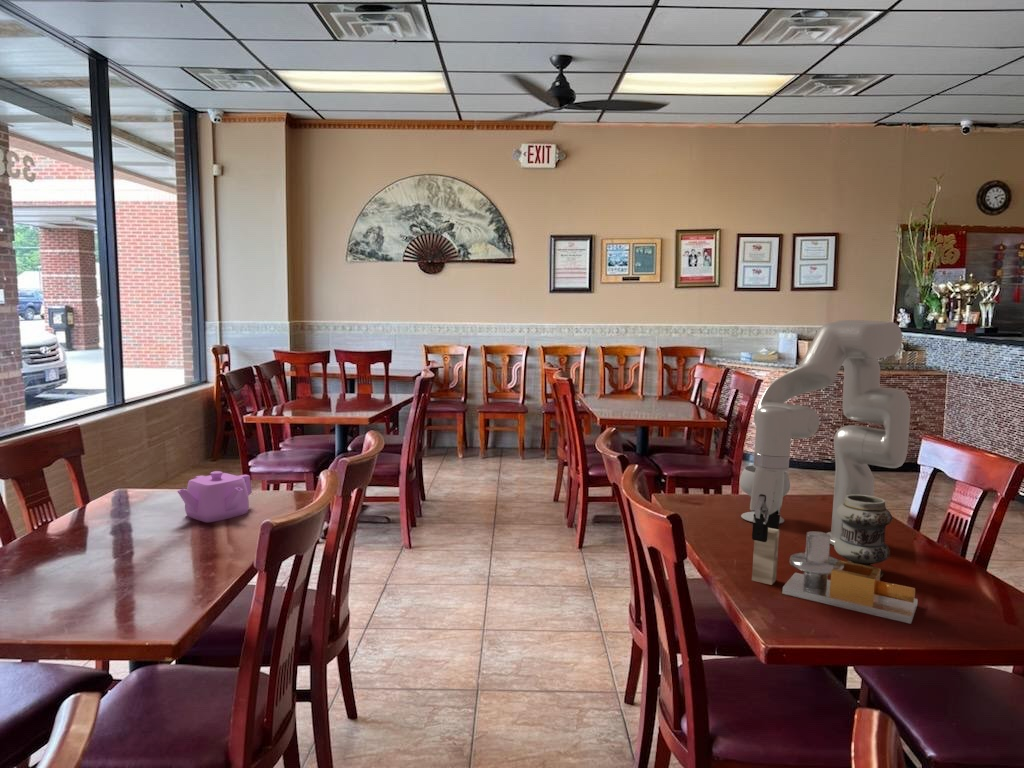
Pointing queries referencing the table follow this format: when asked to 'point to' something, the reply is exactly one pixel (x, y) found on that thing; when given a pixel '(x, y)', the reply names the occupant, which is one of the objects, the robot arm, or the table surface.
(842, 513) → the apothecary jar
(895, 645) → the table surface
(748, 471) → the chalice
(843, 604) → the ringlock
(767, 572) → the cream rectangular block
